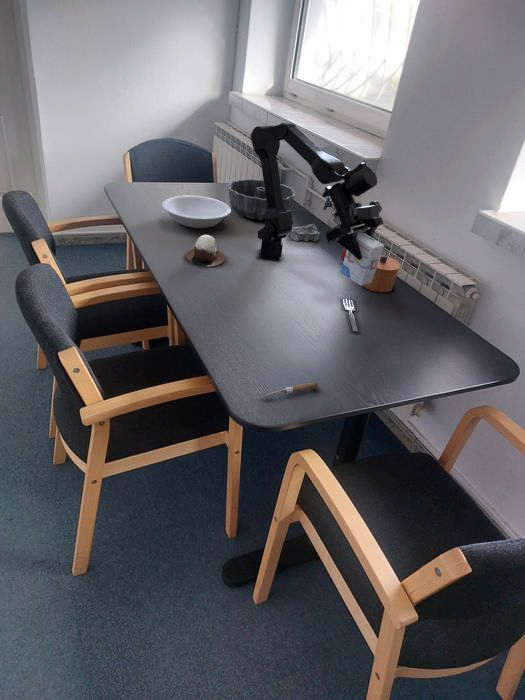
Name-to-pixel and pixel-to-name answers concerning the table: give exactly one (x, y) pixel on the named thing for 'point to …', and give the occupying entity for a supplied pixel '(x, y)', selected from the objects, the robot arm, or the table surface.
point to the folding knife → (292, 389)
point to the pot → (382, 281)
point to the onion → (343, 254)
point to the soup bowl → (196, 210)
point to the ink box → (363, 260)
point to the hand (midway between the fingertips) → (366, 257)
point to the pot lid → (388, 264)
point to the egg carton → (304, 233)
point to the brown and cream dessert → (205, 252)
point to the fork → (351, 314)
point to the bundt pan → (254, 198)
